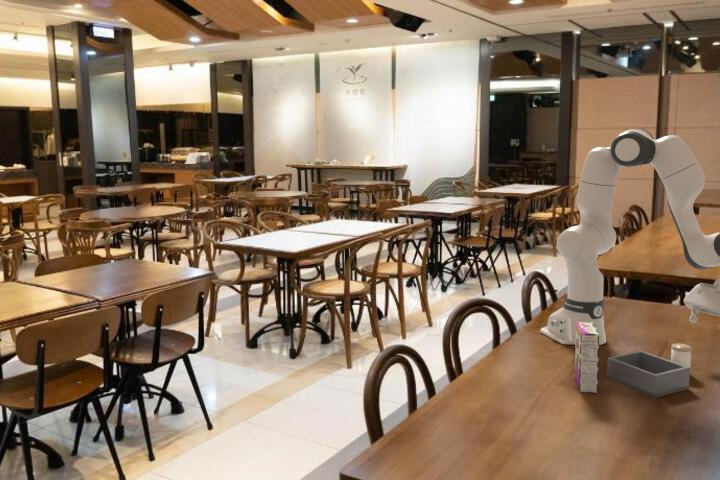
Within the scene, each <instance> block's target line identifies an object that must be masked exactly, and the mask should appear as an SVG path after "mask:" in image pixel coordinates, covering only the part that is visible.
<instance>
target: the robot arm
mask: <svg viewBox="0 0 720 480" xmlns="http://www.w3.org/2000/svg"><path fill="white" fill-rule="evenodd" d="M648 164H649V165H651V166H652V167H653V168H654V169H655V171H656V173H657V174H658V176H659V178H660V181H661V182H662V184H663V186H664V188H665V192H666V195H667V205H668V209H669V212H670V214H671V217H672V219H673V222H674V225H675V227H676V229H677V232H678V235H679V237H680V239H681V242H682V249H683V254H684V258H685V260H686V262H687V263H688V265H690V266H691V267H693V268H694V269H696V270H699V271H701V270H703V271H704V270H708V269H711V268H714V267H720V232H714V233H712V234H708V235H706V234H705V233H704V232H703V231H702V229H701V227H700V223H699V221H698V219H697V217H696V214H695V212H694V204H695V201H696V199H697V198H698V197H699V195H701V193H702V191H703V190H704V188H705V184H706V177H705V172H704V170H703V169H702V166H701V165H700V163H699V161H698V160H697V157H696V156H695V154H694V153H693V151H692V150H691V148H690V147H689V146H688V145H687V144H686V142H685V141H684V139H683V138H681V137H680V136H679V135H676V134H670V135H665V136H662V137H660V138H657V139H654V137H653V135H652V134H651V133H650V132H649V131H647V130H646V129H643V128H629V129H627V130H624V131H622V132H621V133H619V134H618V135H617V136H615V138H614V139H613V140H612V142H611V144H610V146H607V147H605V146H599V147H595V148H592V149H590V150H589V152H588V153H587V155H586V157H585V159H584V163H583V167H582V170H581V173H580V178H579V182H578V183H579V184H578V190H577V195H576V200H575V204H576V207H577V209H578V210H579V219H580V221H579V224H578V225H574V226H570V227H568V228H567V229H565V230H563V231H562V232H561V233H560V234H559V235H558V237H557V239H556V249H557V251H558V253H559V254H560V256H562V257H563V260H564V263H565V267H566V273H567V296H566V297H565V296H564V297H561V302H564V303H563V304H562V307H561V308H559V309H558V310H556V311H554V312H553V313H551V314H550V315H549V316H548V319H547V325H546V326H544V327H541V328H540V331H539V332H540V333H541V334H543V335H545V336H547V337H548V338H551V339H552V340H554V341H556V342H558V343H559V344H562V345H573V346H574V345H576V322H590V323H594V325H595V327H596V329H597V331H598V333H599V346H601V345H604V344H606V343H607V338H606V337H607V336H606V335H607V334H606V332H605V321H604V310H605V298H604V274H603V273H602V272H601V271H600V268H599V264H598V260H597V259H598V257H597V256H600V255H603V254H606V253H607V252H608V251H610V250H611V249H612V248H613V247H614V246H615V244H616V241H617V233H616V230H615V229H614V228H613V225H614V224H613V204H614V199H615V198H614V197H615V193H616V188H617V182H618V179H619V178H618V177H619V173H620V171H621V169H622V168H623V167H626V168H632V167H637V166H643V165H648ZM683 303H684V305H685V307H686V308H687V309H689V310H690V316H689V318H688V320H689V322H690V323H692V324H696V323H697V322H698V320H699V318H698V317H697V315H698V314H699V313H704V314H708V315H712V316H715V317H719V318H720V274H719V276H718V277H717V278H716V280H715V281H714V283H713V284H712V283H706V282H701V283H697V284H696V285H695V286H694V287H693V288H692V289H691V290H690V291H689V292H688V294H687V295H686V296H685V297H684V298H683ZM717 328H718V329H719V330H720V324H719V325H718V327H717Z"/></svg>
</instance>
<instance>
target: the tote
mask: <svg viewBox="0 0 720 480" xmlns="http://www.w3.org/2000/svg"><path fill="white" fill-rule="evenodd" d="M606 360H607V365H606V379H608V380H610V381H612V382H615V383H617V384H619V385H622V386H625V387H627V388H629V389H632V390H634V391H636V392H638V393H641V394H644V395H646V396H649V397H651V398H653V399H656V398H661V397H664V396H667V395H671V394H675V393H678V392H679V393H680V392H682V391H686V390H689V389H690V376H691V366H690V367H687V366H684V365H681V364H679V363H676V362H673V361H671V359H670V360H669V359H666V358H664V357H661V356H658V355H655V354H653V353H649V352H646V351H643V350H637V351H633V352H628V353H624V354H620V355H619V354H618V355H615V356H611V357H607V359H606Z"/></svg>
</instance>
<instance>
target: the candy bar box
mask: <svg viewBox="0 0 720 480" xmlns="http://www.w3.org/2000/svg"><path fill="white" fill-rule="evenodd" d="M574 347H575V351H574V352H575V355H574V357H575V359H574V361H575V363H574V379H575V382H576V385H577V388H578V392H579V393H585V394H586V393H587V394H591V393H592V394H593V393H594V394H598V393H599V392H598V391H599V390H598V389H599V387H598V386H599V362H600V361H599V359H600V358H599V356H600V352H599V351H600V345H599V333H598V331H597V329H596V327H595V325H594V323H590V322H576V345H575V346H574Z"/></svg>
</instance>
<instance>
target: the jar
mask: <svg viewBox="0 0 720 480" xmlns="http://www.w3.org/2000/svg"><path fill="white" fill-rule="evenodd" d="M691 359H692V346H691V345H689V344H685V343H673V344H671V353H670V361H673V362H676V363H679V364H681V365H684V366H687V367H690V368H691Z"/></svg>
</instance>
